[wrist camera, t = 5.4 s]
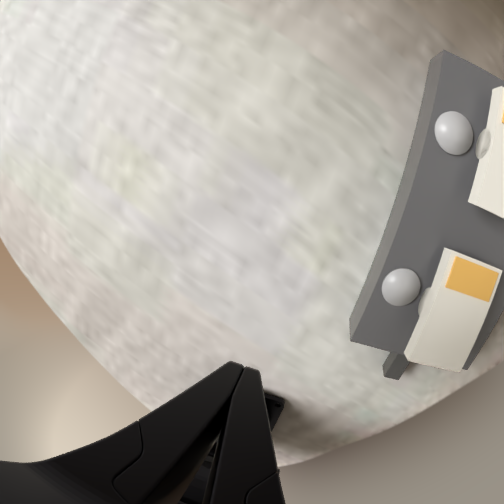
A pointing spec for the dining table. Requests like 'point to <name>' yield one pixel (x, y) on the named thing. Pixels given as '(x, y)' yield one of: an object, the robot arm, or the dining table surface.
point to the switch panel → (433, 214)
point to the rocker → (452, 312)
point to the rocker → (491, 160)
